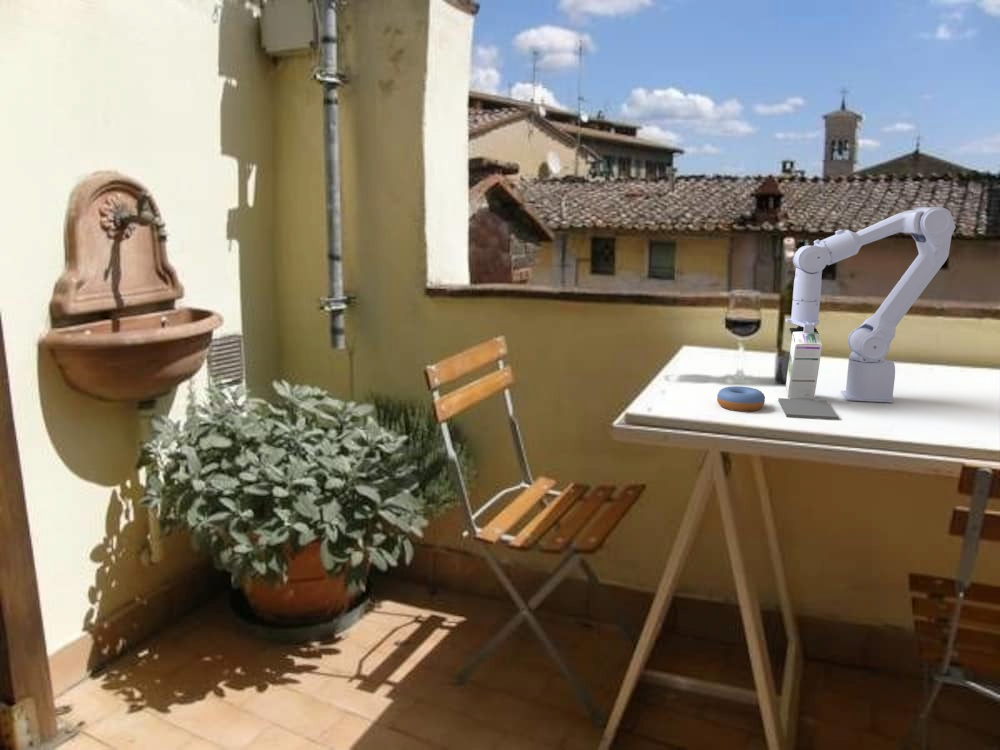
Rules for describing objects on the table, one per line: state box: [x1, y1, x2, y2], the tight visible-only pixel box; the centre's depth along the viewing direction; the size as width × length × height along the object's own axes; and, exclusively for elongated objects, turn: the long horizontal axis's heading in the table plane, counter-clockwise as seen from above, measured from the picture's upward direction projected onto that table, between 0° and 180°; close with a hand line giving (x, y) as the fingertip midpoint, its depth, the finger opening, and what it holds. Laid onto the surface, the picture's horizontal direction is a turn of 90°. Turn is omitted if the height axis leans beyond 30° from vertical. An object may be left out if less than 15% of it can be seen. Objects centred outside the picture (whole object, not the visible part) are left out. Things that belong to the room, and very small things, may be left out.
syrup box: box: [785, 331, 823, 400], centre depth 175 cm, size 6×6×14 cm
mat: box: [777, 397, 839, 420], centre depth 168 cm, size 10×14×1 cm
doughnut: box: [716, 385, 766, 412], centre depth 170 cm, size 10×10×5 cm
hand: (801, 359), depth 178 cm, fingers closed
